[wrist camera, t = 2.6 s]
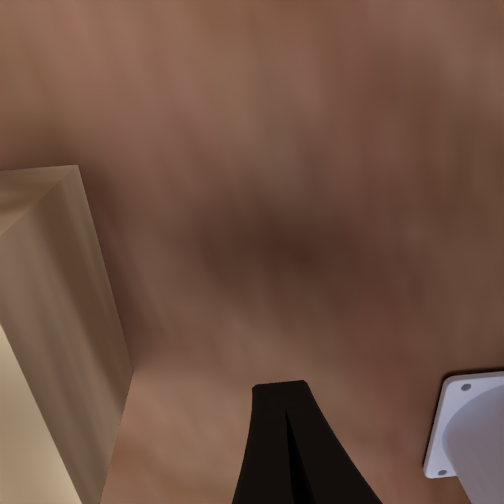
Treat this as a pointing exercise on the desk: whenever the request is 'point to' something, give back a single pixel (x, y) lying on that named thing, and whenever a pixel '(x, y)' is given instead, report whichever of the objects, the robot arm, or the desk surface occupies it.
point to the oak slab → (56, 343)
